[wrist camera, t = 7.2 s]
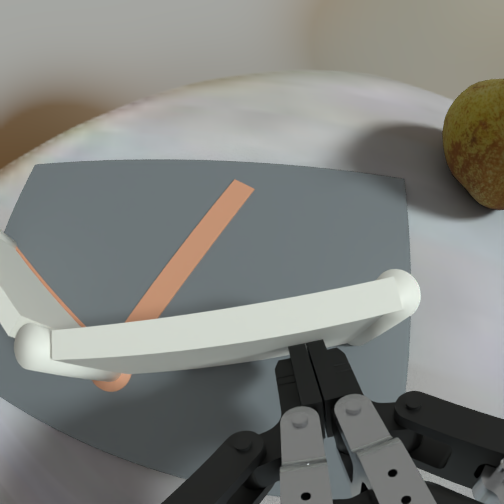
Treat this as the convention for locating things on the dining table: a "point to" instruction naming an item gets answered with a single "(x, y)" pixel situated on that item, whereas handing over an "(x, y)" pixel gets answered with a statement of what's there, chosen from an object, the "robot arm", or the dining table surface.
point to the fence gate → (243, 329)
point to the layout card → (198, 289)
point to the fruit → (478, 141)
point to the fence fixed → (35, 318)
